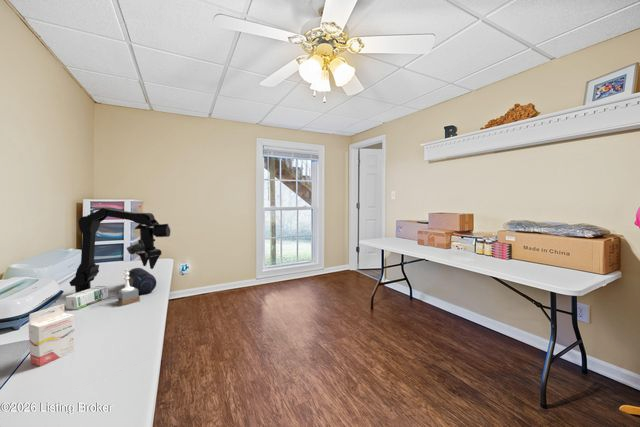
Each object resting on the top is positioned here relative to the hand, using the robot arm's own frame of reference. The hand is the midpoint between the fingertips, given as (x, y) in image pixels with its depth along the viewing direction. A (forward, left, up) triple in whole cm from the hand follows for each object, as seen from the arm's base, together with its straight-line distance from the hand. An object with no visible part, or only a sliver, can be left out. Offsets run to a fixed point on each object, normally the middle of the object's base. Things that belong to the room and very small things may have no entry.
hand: (148, 267), depth 133 cm
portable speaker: (-7, -2, -13) cm, 15 cm away
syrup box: (-2, -30, -10) cm, 31 cm away
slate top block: (+8, -11, -10) cm, 17 cm away
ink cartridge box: (+40, -40, -13) cm, 58 cm away
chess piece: (+8, -12, -7) cm, 16 cm away
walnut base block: (+8, -11, -13) cm, 19 cm away
